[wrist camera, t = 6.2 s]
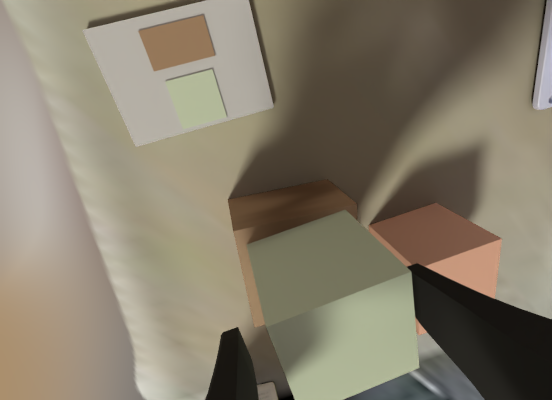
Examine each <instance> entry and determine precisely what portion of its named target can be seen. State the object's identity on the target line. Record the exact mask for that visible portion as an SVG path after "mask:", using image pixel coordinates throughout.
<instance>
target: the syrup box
mask: <svg viewBox="0 0 552 400" xmlns="http://www.w3.org/2000/svg"><path fill="white" fill-rule="evenodd" d="M257 388H258V397H259V400H278V396H277V392H276V388H275V384H274V383H273V382H269V383H265V384H260V385H257Z"/></svg>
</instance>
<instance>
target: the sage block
mask: <svg viewBox="0 0 552 400" xmlns="http://www.w3.org/2000/svg"><path fill="white" fill-rule="evenodd" d="M247 250H248V254H249V258H250V262H251V266H252V271H253V275H254V279H255V283H256V287H257V292H258V296H259V300H260V304H261V308H262V313H263V317H264V321H265V325H266V329H267V331H268V334H269V336H270V339H271V341H272V344H273V346H274V349H275V351H276V354H277V356H278V359H279V361H280V364H281V366H282V369H283V371H284V374H285V376H286V379H287V381H288V384H289V386H290V389H291V391H292V394H293V396H294V399H295V400H343V399H346V398H348V397H350V396H353V395H355V394H358V393H360V392H362V391H365V390H367V389H370V388H372V387H374V386H377V385H379V384H382V383H384V382H386V381H389V380H391V379H394V378H396V377H398V376H401V375H403V374H405V373H408V372H410V371H413V370H415V369H417V368H419V359H418V347H417V335H416V322H415V310H414V297H413V285H412V273H411V271H410V270H409V269H408V268H407V267H406V266H405V265H404V264H403V263H402V262H401V261H400V260H399V259H398V258H396V257H395V256H394V255H393V254H392V253H391V252H390V251H389V250H388V249H387V248H386V247H385V246H384V245H383V244H382V243H381V242H379V241H378V240H377V239H376V238H375V237H374V236H373V235H372V234H371V233H370V232H369V231H368V230H367V229H366V228H365V227H363V226H362V225H361V224H360V223H359V222H358V221H357V220H356V219H355V218H354V217H353V216H352V215H351V214H350V213H349V212H347V211H346V210H343V211H340V212H337V213H334V214H331V215H329V216H326V217H323V218H320V219H317V220H314V221H312V222H309V223H306V224H303V225H300V226H298V227H295V228H292V229H289V230H286V231H283V232H281V233H278V234H275V235H272V236H269V237H267V238H264V239H261V240H258V241H255V242H252V243H250V244H247Z"/></svg>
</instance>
